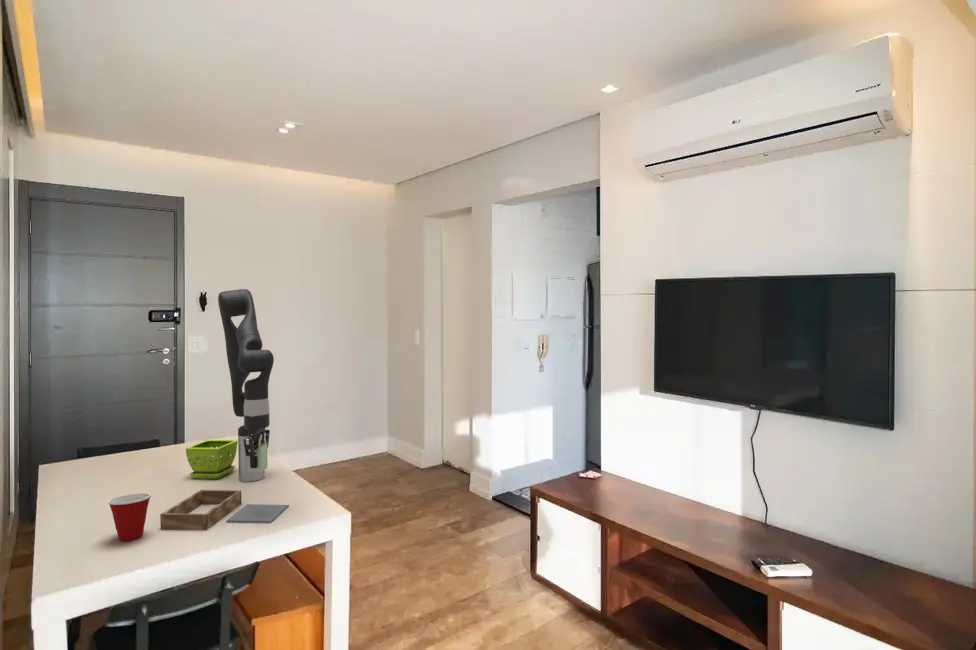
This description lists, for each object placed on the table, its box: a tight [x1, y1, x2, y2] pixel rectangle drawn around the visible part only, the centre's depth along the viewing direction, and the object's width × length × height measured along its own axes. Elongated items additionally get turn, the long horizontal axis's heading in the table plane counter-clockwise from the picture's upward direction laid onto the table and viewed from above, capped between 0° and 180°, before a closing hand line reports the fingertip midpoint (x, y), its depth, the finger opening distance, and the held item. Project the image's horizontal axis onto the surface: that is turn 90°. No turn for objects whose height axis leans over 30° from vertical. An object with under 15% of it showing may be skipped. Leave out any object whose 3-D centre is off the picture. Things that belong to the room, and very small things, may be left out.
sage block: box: [247, 443, 269, 472], centre depth 181 cm, size 4×4×8 cm
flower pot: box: [185, 439, 238, 480], centre depth 222 cm, size 14×14×13 cm
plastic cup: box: [106, 492, 152, 542], centre depth 164 cm, size 11×11×12 cm
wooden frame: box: [159, 489, 242, 531], centre depth 180 cm, size 22×14×4 cm, turn 178°
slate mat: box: [225, 503, 290, 524], centre depth 182 cm, size 14×14×1 cm
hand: (257, 465), depth 181 cm, fingers closed on sage block, 4 cm apart
